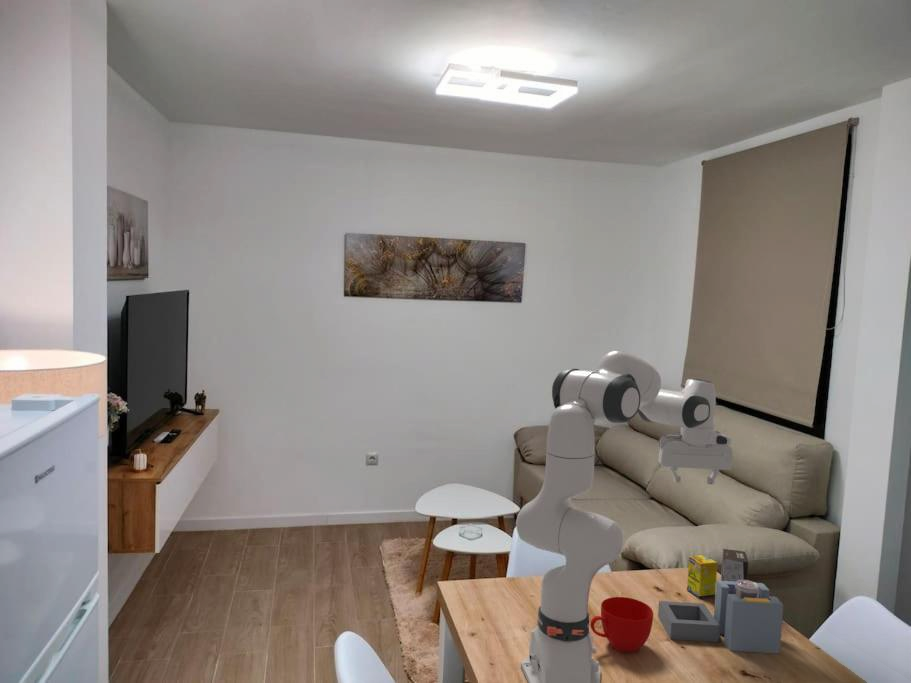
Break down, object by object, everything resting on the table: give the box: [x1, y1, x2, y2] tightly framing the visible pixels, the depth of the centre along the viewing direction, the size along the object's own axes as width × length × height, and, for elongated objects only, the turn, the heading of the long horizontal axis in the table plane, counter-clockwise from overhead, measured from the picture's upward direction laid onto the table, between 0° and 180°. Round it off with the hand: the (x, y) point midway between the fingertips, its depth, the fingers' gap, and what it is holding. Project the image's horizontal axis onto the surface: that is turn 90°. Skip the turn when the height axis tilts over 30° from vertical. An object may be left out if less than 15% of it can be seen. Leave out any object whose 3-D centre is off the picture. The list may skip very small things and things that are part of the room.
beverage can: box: [734, 579, 759, 599], centre depth 176 cm, size 6×6×15 cm
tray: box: [657, 600, 720, 643], centre depth 181 cm, size 12×12×4 cm
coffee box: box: [720, 548, 749, 582], centre depth 194 cm, size 9×6×16 cm
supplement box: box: [686, 554, 718, 600], centre depth 203 cm, size 6×6×11 cm
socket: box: [713, 580, 784, 655], centre depth 176 cm, size 12×12×13 cm
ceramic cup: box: [589, 596, 654, 654], centre depth 170 cm, size 13×17×10 cm
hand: (693, 483), depth 190 cm, fingers open, 8 cm apart
